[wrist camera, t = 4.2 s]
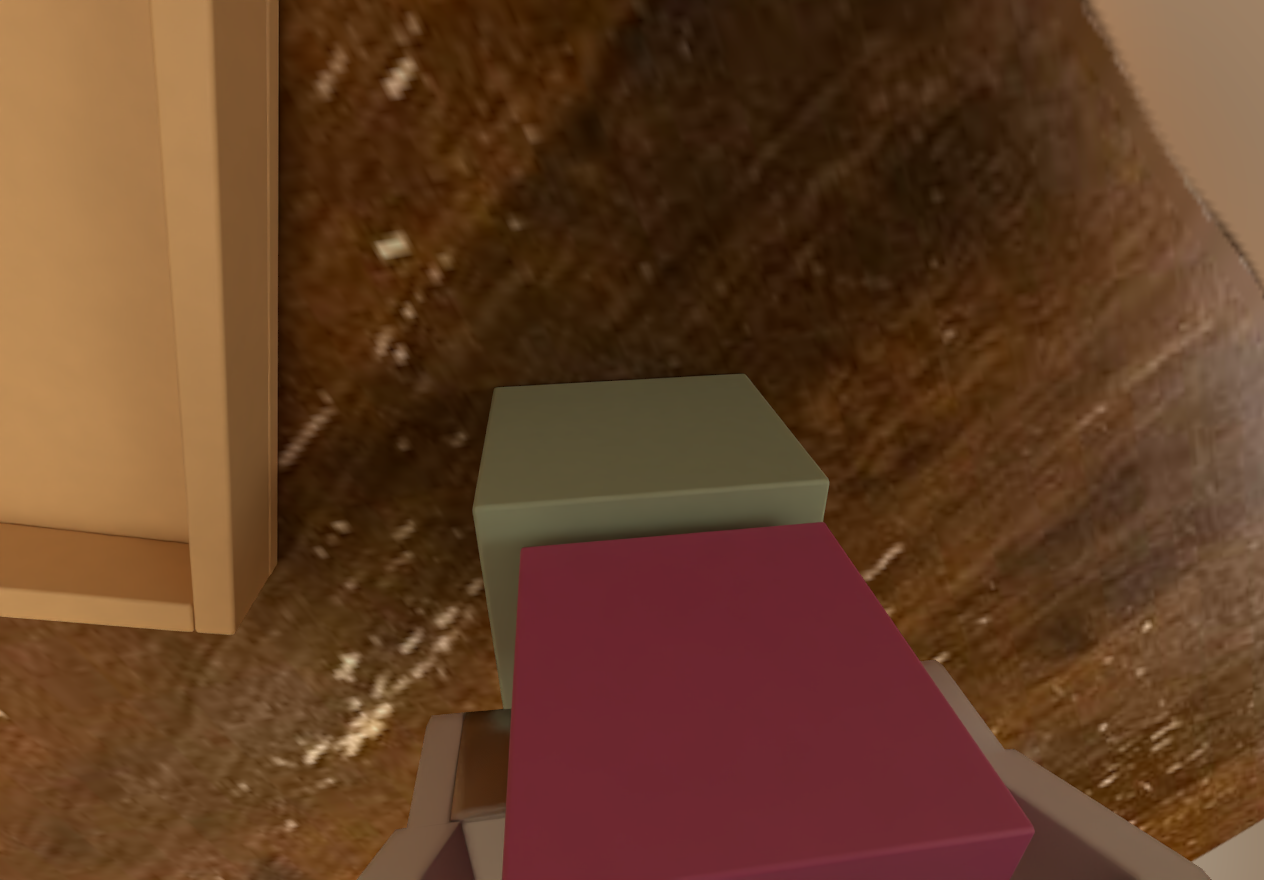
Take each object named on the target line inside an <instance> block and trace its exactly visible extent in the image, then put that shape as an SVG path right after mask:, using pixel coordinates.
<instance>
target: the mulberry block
mask: <svg viewBox="0 0 1264 880" xmlns="http://www.w3.org/2000/svg"><path fill="white" fill-rule="evenodd" d="M1034 833H1035V830H1034V827H1033V825H1032V823H1031V822H1030V820H1029V819H1028V818H1027V816H1026V815H1025V813H1024V812H1023V810H1022V809H1021V807H1020V806H1019V804H1018V803H1017V802H1016V800H1015V799H1014V797H1013V796H1012V794H1011V793H1010V791H1009V790H1008V788H1007V787H1006V786H1005V784H1004V783H1003V781H1002V780H1001V778H1000V777H999V775H998V774H997V772H996V771H995V770H994V768H993V767H992V765H991V764H990V762H989V761H988V759H987V758H986V757H985V755H984V754H983V752H982V751H981V749H980V748H979V746H978V745H977V743H976V742H975V741H974V739H973V738H972V736H971V735H970V733H969V732H968V730H967V729H966V727H965V726H964V725H963V723H962V722H961V720H960V719H959V717H958V716H957V714H956V713H955V711H954V710H953V709H952V707H951V706H950V704H949V703H948V701H947V700H946V698H945V697H944V695H943V694H942V693H941V691H940V690H939V688H938V687H937V685H936V684H935V682H934V681H933V679H932V678H931V677H930V675H929V674H928V672H927V671H926V669H925V668H924V666H923V665H922V663H921V662H920V661H919V659H918V658H917V656H916V655H915V653H914V652H913V650H912V649H911V647H910V646H909V645H908V643H907V642H906V640H905V639H904V637H903V636H902V634H901V633H900V632H899V630H898V629H897V627H896V626H895V624H894V623H893V621H892V620H891V618H890V617H889V616H888V614H887V613H886V611H885V610H884V608H883V607H882V605H881V604H880V602H879V601H878V600H877V598H876V597H875V595H874V594H873V592H872V591H871V589H870V588H869V586H868V585H867V584H866V582H865V581H864V579H863V578H862V576H861V575H860V573H859V572H858V570H857V569H856V568H855V566H854V565H853V563H852V562H851V560H850V559H849V557H848V556H847V554H846V553H845V552H844V550H843V549H842V547H841V546H840V544H839V543H838V541H837V540H836V538H835V537H834V536H833V534H832V533H831V531H830V530H829V528H828V527H827V525H826V524H825V523H824V522H816V523H804V524H792V525H781V526H769V527H757V528H745V529H734V530H722V531H710V532H698V533H686V534H675V535H663V536H651V537H639V538H627V539H616V540H604V541H592V542H580V543H569V544H557V545H545V546H533V547H523V548H522V549H521V551H520V565H519V583H518V601H517V619H516V637H515V654H514V672H513V690H512V708H511V726H510V743H509V761H508V779H507V797H506V815H505V833H504V850H503V868H502V880H1010V878H1011V877H1012V875H1013V873H1014V871H1015V869H1016V867H1017V865H1018V863H1019V861H1020V859H1021V858H1022V856H1023V854H1024V852H1025V850H1026V848H1027V846H1028V844H1029V842H1030V841H1031V839H1032V837H1033V835H1034Z"/></svg>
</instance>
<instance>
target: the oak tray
mask: <svg viewBox="0 0 1264 880" xmlns="http://www.w3.org/2000/svg"><path fill="white" fill-rule="evenodd" d="M278 92H279V0H0V617H13V618H25V619H37V620H49V621H62V622H74V623H86V624H98V625H111V626H123V627H135V628H147V629H160V630H172V631H184V632H192V631H194V630H196V631H197V632H199V633H211V634H223V635H233V634H235V633H236V631H237V629H238V628H239V626H240V624H241V623H242V621H243V619H244V617H245V616H246V614H247V612H248V611H249V609H250V607H251V606H252V604H253V602H254V601H255V599H256V597H257V596H258V594H259V592H260V591H261V589H262V587H263V586H264V584H265V582H266V581H267V579H268V577H269V575H271V573H272V572H273V570H274V568H275V567H276V565H277V466H278Z"/></svg>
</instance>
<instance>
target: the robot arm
mask: <svg viewBox="0 0 1264 880" xmlns="http://www.w3.org/2000/svg"><path fill="white" fill-rule="evenodd" d="M920 662H921V663H922V665H923V666H924V668H925V669H926V671H927V672H928V674H929V675H930V677H931V678H932V679H933V681H934V682H935V684H936V685H937V687H938V688H939V690H940V691H941V693H942V694H943V695H944V697H945V698H946V700H947V701H948V703H949V704H950V706H951V707H952V709H953V710H954V711H955V713H956V714H957V716H958V717H959V719H960V720H961V722H962V723H963V725H964V726H965V727H966V729H967V730H968V732H969V733H970V735H971V736H972V738H973V739H974V741H975V742H976V743H977V745H978V746H979V748H980V749H981V751H982V752H983V754H984V755H985V757H986V758H987V759H988V761H989V762H990V764H991V765H992V767H993V768H994V770H995V771H996V772H997V774H998V775H999V777H1000V778H1001V780H1002V781H1003V783H1004V784H1005V786H1006V787H1007V788H1008V790H1009V791H1010V793H1011V794H1012V796H1013V797H1014V799H1015V800H1016V802H1017V803H1018V804H1019V806H1020V807H1021V809H1022V810H1023V812H1024V813H1025V815H1026V816H1027V818H1028V819H1029V820H1030V822H1031V823H1032V825H1033V827H1034V830H1035V833H1034V835H1033V837H1032V839H1031V841H1030V842H1029V844H1028V846H1027V848H1026V850H1025V852H1024V854H1023V856H1022V858H1021V859H1020V861H1019V863H1018V865H1017V867H1016V869H1015V871H1014V873H1013V875H1012V877H1011V878H1010V880H1211V879H1210V878H1209V877H1208V875H1207V874H1206V873H1205V872H1204V871H1203V870H1202V869H1201V868H1200V867H1198V866H1197V865H1195V864H1193V863H1192V862H1190V861H1189V860H1187V859H1186V858H1184V857H1183V856H1181V855H1179V854H1178V853H1176V852H1175V851H1173V850H1172V849H1170V848H1168V847H1167V846H1165V845H1164V844H1162V843H1161V842H1159V841H1158V840H1156V839H1154V838H1153V837H1151V836H1150V835H1148V834H1147V833H1145V832H1143V831H1142V830H1140V829H1139V828H1137V827H1136V826H1134V825H1132V824H1131V823H1129V822H1128V821H1126V820H1125V819H1123V818H1121V817H1120V816H1118V815H1117V814H1115V813H1114V812H1112V811H1110V810H1109V809H1107V808H1106V807H1104V806H1103V805H1101V804H1100V803H1098V802H1096V801H1095V800H1093V799H1092V798H1090V797H1089V796H1087V795H1085V794H1084V793H1082V792H1081V791H1079V790H1078V789H1076V788H1074V787H1073V786H1071V785H1070V784H1068V783H1067V782H1065V781H1063V780H1062V779H1060V778H1059V777H1057V776H1056V775H1054V774H1053V773H1051V772H1049V771H1048V770H1046V769H1045V768H1043V767H1042V766H1040V765H1038V764H1037V763H1035V762H1034V761H1032V760H1031V759H1029V758H1027V757H1026V756H1024V755H1023V754H1021V753H1020V752H1018V751H1016V750H1015V749H1007V750H1005V749H1004V748H1003V747H1002V745H1001V744H1000V743H999V741H998V740H997V738H996V737H995V736H994V734H993V733H992V732H991V730H990V729H989V728H988V726H987V725H986V724H985V722H984V721H983V719H982V718H981V717H980V715H979V714H978V713H977V711H976V710H975V709H974V707H973V706H972V704H971V703H970V702H969V700H968V699H967V698H966V696H965V695H964V694H963V692H962V691H961V690H960V688H959V687H958V685H957V684H956V683H955V681H954V680H953V679H952V677H951V676H950V675H949V673H948V672H947V670H946V669H945V668H944V666H943V665H942V664H940V663H939V662H937V661H936V660H928V661H920ZM510 726H511V709H499V710H488V711H476V712H464V713H455V714H445V715H435V716H431V718H430V721H429V723H428V725H427V727H426V732H425V737H424V742H423V748H422V753H421V758H420V763H419V768H418V773H417V778H416V783H415V788H414V794H413V799H412V804H411V809H410V814H409V819H408V824H407V828H403V829H397V830H395V831H394V833H393V834H392V835H391V837H390V838H389V839H388V840H387V842H386V843H385V844H384V846H383V847H382V848H381V849H380V851H379V852H378V853H377V854H376V856H375V857H374V858H373V860H372V861H371V862H370V863H369V865H368V866H367V867H366V869H365V870H364V871H363V872H362V874H361V875H360V876H359V877H358V879H357V880H502V868H503V850H504V833H505V815H506V797H507V779H508V761H509V743H510Z"/></svg>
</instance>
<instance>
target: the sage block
mask: <svg viewBox="0 0 1264 880" xmlns="http://www.w3.org/2000/svg"><path fill="white" fill-rule="evenodd" d="M828 489H829V480H828V478H827V477H826V475H825V474H824V473H823V472H822V470H821V469H820V468H819V467H818V465H817V464H816V463H815V461H814V460H813V459H812V458H811V456H810V455H809V454H808V453H807V451H806V450H805V449H804V448H803V446H802V445H801V444H800V443H799V441H798V440H797V439H796V438H795V436H794V435H793V434H792V432H791V431H790V430H789V429H788V427H787V426H786V425H785V424H784V422H783V421H782V420H781V419H780V417H779V416H778V415H777V414H776V412H775V411H774V410H773V408H772V407H771V406H770V405H769V403H768V402H767V401H766V400H765V398H764V397H763V396H762V395H761V393H760V392H759V391H758V390H757V388H756V387H755V386H754V385H753V383H752V382H751V381H750V379H749V378H748V377H747V376H746V374H727V375H709V376H692V377H674V378H656V379H638V380H620V381H602V382H584V383H567V384H549V385H531V386H513V387H497V388H494V391H493V396H492V402H491V407H490V413H489V419H488V424H487V430H486V436H485V441H484V447H483V453H482V458H481V464H480V469H479V475H478V481H477V486H476V492H475V498H474V503H473V509H472V511H473V517H474V523H475V530H476V536H477V542H478V549H479V555H480V562H481V568H482V574H483V581H484V587H485V594H486V600H487V606H488V613H489V619H490V625H491V632H492V638H493V645H494V651H495V657H496V664H497V670H498V676H499V683H500V689H501V696H502V702H503V708H504V709H511V708H512V690H513V672H514V654H515V637H516V619H517V601H518V583H519V565H520V551H521V549H522V548H523V547H533V546H545V545H557V544H569V543H580V542H592V541H604V540H616V539H627V538H639V537H651V536H663V535H675V534H686V533H698V532H710V531H722V530H734V529H745V528H757V527H769V526H781V525H792V524H804V523H816V522H823V518H824V512H825V506H826V500H827V494H828Z"/></svg>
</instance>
